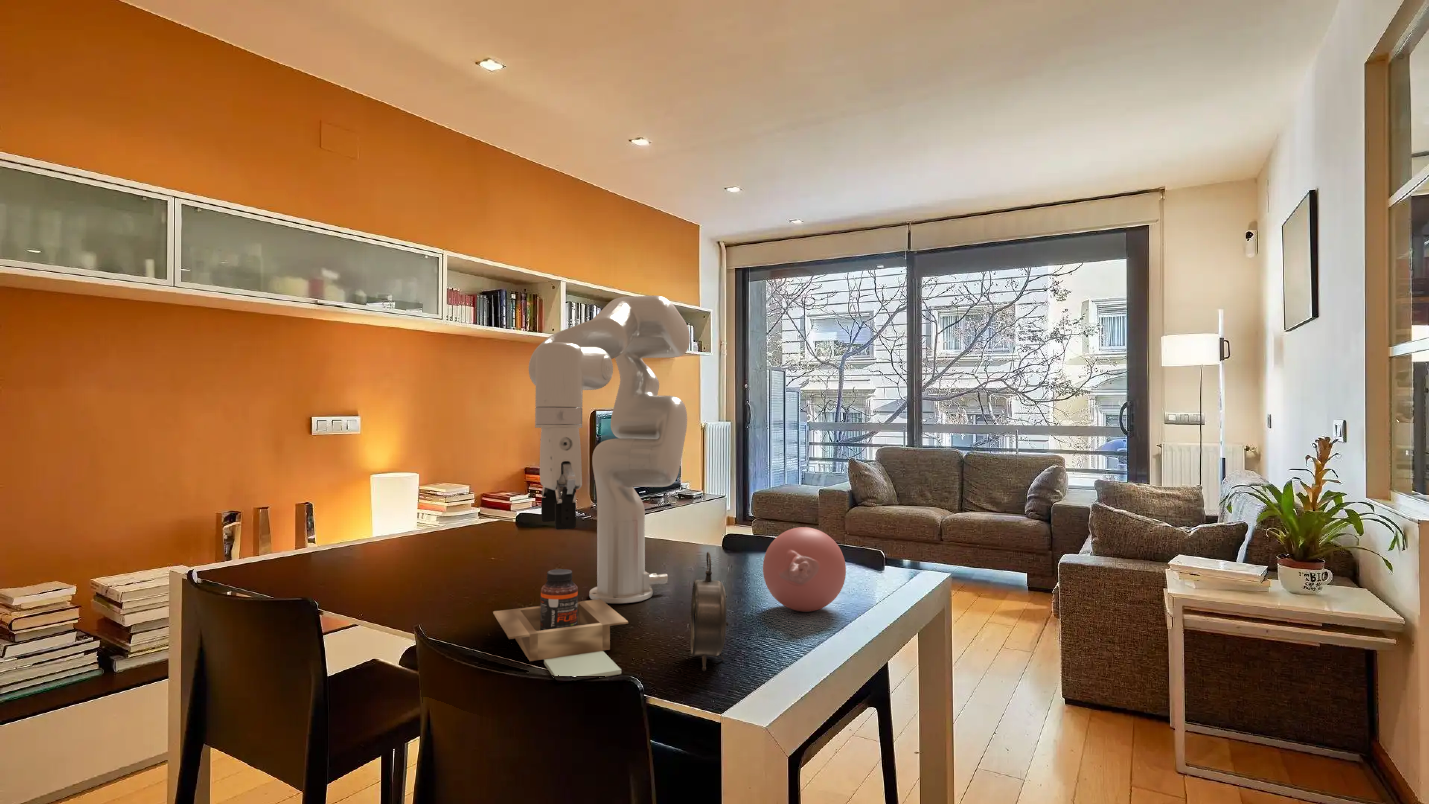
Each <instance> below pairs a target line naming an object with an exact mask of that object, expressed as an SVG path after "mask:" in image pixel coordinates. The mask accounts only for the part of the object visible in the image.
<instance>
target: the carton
mask: <svg viewBox="0 0 1429 804" xmlns="http://www.w3.org/2000/svg"><path fill="white" fill-rule="evenodd" d="M540 608H541V605H538V606H536V605H535V606H529V607H520V608H513V609H503V610H501V609H500V610H494V611H492V613H493V615H494V617H495V618H496V620H497V622H498V624H499V625H500V627H501V628H502V630H503V632H504V633H505V635H506V637H507V638H508V640H514V639H515V641H516V642H517V644H518V645H519V647H520V649H521V650H522V652H523V653H524V655H525V657H527V659H528V660H529V662H534V661H541V660H544V659H551V658H557V657H564V656H571V655H578V654H585V653H592V652H598V651H610V650H611V641H610V640H611V627H612V626H618V625H626V624H629V621H628V620H627V619H626V618H625V617H624V616H622V615H621V614H620V613H618V612H617V611H616V610H615V609H613V608H612V607H611V606H610V605H608V603H605V602H604V601H602V600H601V599H597V600H592V599H589V600H582V601H581V600H579V601H578V623H577V624H578V626H572V627H564V628H556V629H549V630H541V631H540V611H541V609H540Z"/></svg>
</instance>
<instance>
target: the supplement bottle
mask: <svg viewBox="0 0 1429 804" xmlns="http://www.w3.org/2000/svg"><path fill="white" fill-rule="evenodd" d="M578 593H579V589H578V585H576V584H575V582H573V570H571V569H565V568H563V569H562V568H558V569H556V568H555V569H551V570H548V571H547V572H546V582H545V584H544V585H542V587H541V588H540V606H541V608H540V609H541V611H540V631H541V630H549V629H556V628H564V627H572V626H578V624H577V623H578V602H579V595H578Z"/></svg>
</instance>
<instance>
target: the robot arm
mask: <svg viewBox="0 0 1429 804" xmlns="http://www.w3.org/2000/svg"><path fill="white" fill-rule="evenodd" d="M690 340H691V335H690V330H689V327H688V324H687V323H686V321H685V319H684V318H683V316H682V315H681V314H680V312H679V311H678V308H677V307H676V306H675V305H674V304H673V303H672V301H670V300H669V299H668V298H666V297H664V296H660V295H640V296H639V295H638V296H635V295H634V296H621V297H617V298H613V299H612V300H611V301H609V302H608V303H607V304H606V306H604V307H603V308H602V309H601V310H600V311H599V312H598V313H597V314H596V315H595V316H594V317H593V318H592V319H591V320H590V319H589V320H588V321H584V322H581V323H579V324H577V325H574V326H571V327H568V328H566V329H563V330H560V331H557V332H556V333H553V334H551V335H550V336H548V337H546V339H544V340H543V341H542V342H541V343H540V344H539V345H538V346H537V347H536V348H535V349H534V351H533V352H532V354H531V356H530V359H529V362H528V375H529V378H530V380H531V382H532V383H533V385H534V386H535V398H534V399H535V404H534V405H535V406H534V407H535V408H534V409H535V410H534V411H535V413H534V417H535V418H534V420H535V421H534V428H535V429H536V428H537V429H539V428H540V430H541V431H540V447H539V481H540V485H541V486H542V489H541V502H540V504H541V507H540V509H541V510H540V511H541V514H540V515H541V517H540V519H541V521H542V522H543V523H545V522H550V523H551V522H554V529H556V530H559V531H560V530H570V529H571V530H573V529H575V528H576V527H577V495H576V493H577V490H580V489H581V488H582V486H583V473H582V470H583V469H582V447H581V445H582V444H581V436H580V429H582V428H583V391H594V390H599V389H602V388H605V387H606V386H607V385H608V384H609V383H610V381H611V379H612V377H613V374H614V365H613V361H612V359H614V360H615V362H616V366H617V369H618V374H619V385H618V390H617V394H616V396H615V397H616V398H615V401H614V403H613V404H614V405H613V408H612V413H611V418H610V430H611V432H612V434H613V435H614V436H615V437H616V438H611V439H610V438H609V439H606V440H605V439H604V440H603V441H601V442H600V443H598V444H597V445H596V447H595V448H594V450H593V453H592V460H591V461H592V462H591V463H592V465H591V466H592V471H593V475H594V482H595V489H596V513H597V514H596V521H597V522H596V527H597V529H596V534H597V535H596V537H597V538H596V540H597V544H596V547H597V550H596V551H597V552H596V553H597V554H596V555H597V556H596V557H597V558H596V559H597V560H596V561H597V562H596V565H597V566H596V567H597V569H596V570H597V571H596V575H597V576H596V578H597V579H596V580H597V581H596V583H597V586H594V587H593V588H591V589H590V590H589V591H588V592H589V593H588V594H589V598H590V600H597V599H601V600H602V601H604V602H605V603H606V604H630V603H638V602H642V601H645V600H649V599H650V598H651V597H652V596H653V592H654V591H653V588H652V587H653V586H654V585H662V584H668V582H669V577H668V574H667V573H660V574H657V573H656V572H655V573H649V572H647V570H645V569H646V568H645V567H646V564H645V563H646V560H645V559H646V551H645V550H646V543H645V542H646V537H645V536H646V533H645V532H646V528H645V526H646V523H645V521H646V511H645V505H644V502H643V501H642V498H641V497H640V495H639V494H638V493H637V491H636V489H635V488H634V487H646V488H647V487H649V488H653V487H654V488H663V487H669V486H672V485H673V484H674V483H675V482H676V480H677V479H678V475H679V472H680V467H681V461H682V458H683V457H682V456H683V451H684V446H685V440H686V433H687V427H688V413H687V408H686V405H685V402H683V400H681V398H679V397H677V396H673V395H659V390H660V381H659V379H658V377H657V375H656V373H654V371H653V370H652V369H651V367H650V366H648V364H646V363H645V362H644V360H643V359H648V358H649V359H653V358H654V359H659V358H665V359H666V358H672V359H673V358H679V357H682V356H683V355H685V354H686V352H688V350H689V347H690V342H691V341H690Z"/></svg>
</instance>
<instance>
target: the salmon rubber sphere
mask: <svg viewBox="0 0 1429 804" xmlns="http://www.w3.org/2000/svg"><path fill="white" fill-rule="evenodd" d="M846 566H847V565H846V561H845V556H844V555H843V552H842V549H841V548H840V546H839V544H838V543H836V541H835V540H834V539H833V538H832V537H831V536H830V535H828V534H827V533H825V532H824V531H822V530H819V529H817V528H812V527H807V526H805V527H803V526H802V527H801V526H799V527H793V528H790V529H787V530H785V531H783V532H781V533H780V534H779V535H778V536H776V537H775V538H774V540H772V541H771V542H770V544H769V546H768V547H767V549H766V551H765V554H764V558H763V562H762V573H763V575H762V576H763V580H764V582H765V585H766V588H767V589H768V591H769V592H770V594H771V595H772V597H773V598H774V599H775V600H776V601H777V602H778V603H779V604H781V605H783V606H784V607H786V608H788V609H790V610H792V611H796V612H802V613H803V612H804V613H806V612H807V613H809V612H815V611H817V610H821V609H823V608H826V607H827V606H829V605H831V603H832V602H833V601H834V600H836V598H837V597H838V596H839V595H840V593H841V591H842V590H843V587H844V584H845V580H846V575H847V574H846V573H847V567H846Z"/></svg>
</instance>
